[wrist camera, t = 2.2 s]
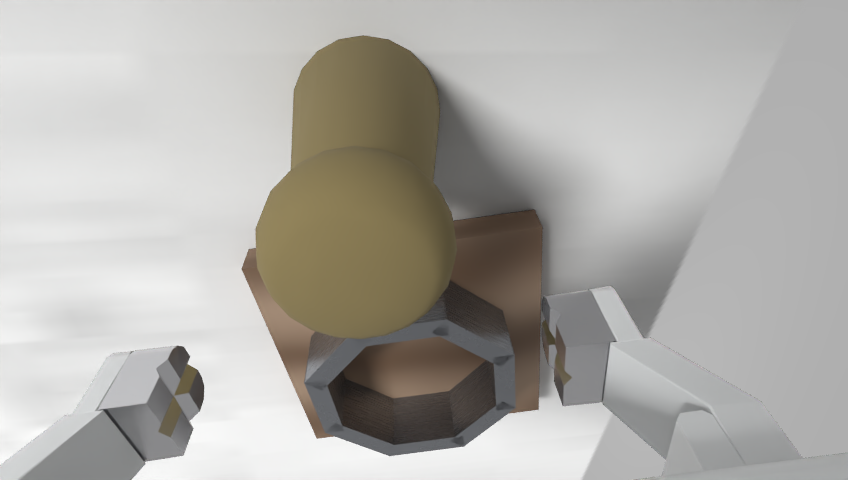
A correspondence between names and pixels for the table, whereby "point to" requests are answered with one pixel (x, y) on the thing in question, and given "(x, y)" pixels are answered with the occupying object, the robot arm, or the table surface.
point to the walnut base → (437, 357)
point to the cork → (359, 196)
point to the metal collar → (429, 413)
